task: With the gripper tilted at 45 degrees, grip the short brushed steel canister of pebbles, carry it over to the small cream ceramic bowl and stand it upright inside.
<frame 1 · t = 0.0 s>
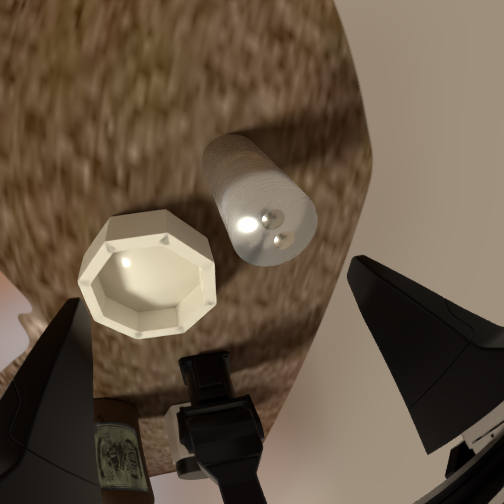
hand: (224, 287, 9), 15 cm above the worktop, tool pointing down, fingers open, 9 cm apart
bowl: (148, 267, 25), on the worktop
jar: (188, 410, 45), on the worktop
canister: (230, 161, 22), on the worktop
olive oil: (109, 409, 39), on the worktop
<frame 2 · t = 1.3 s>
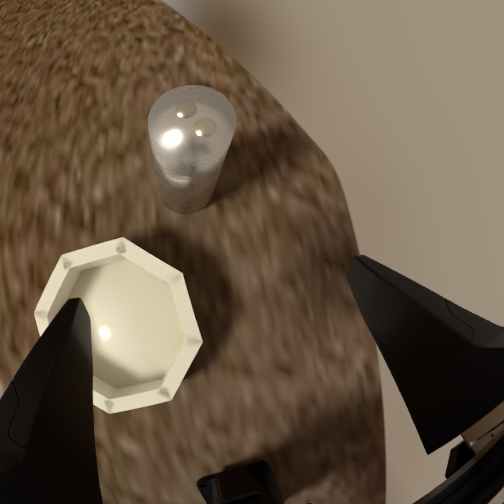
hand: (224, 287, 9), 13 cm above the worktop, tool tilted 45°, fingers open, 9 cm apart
bowl: (121, 324, 20), on the worktop
canister: (186, 187, 23), on the worktop
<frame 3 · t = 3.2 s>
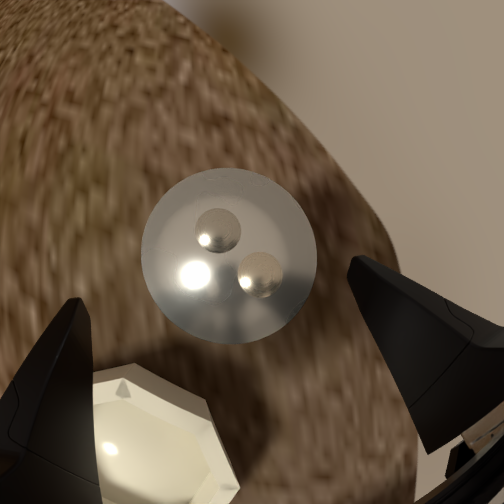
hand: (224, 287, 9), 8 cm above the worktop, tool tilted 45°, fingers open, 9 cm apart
bowl: (133, 450, 14), on the worktop
canister: (203, 280, 17), on the worktop
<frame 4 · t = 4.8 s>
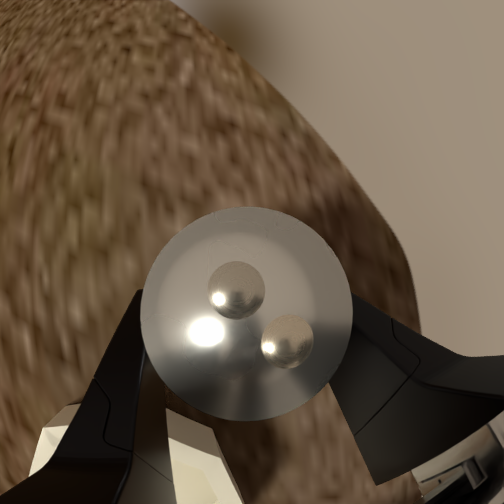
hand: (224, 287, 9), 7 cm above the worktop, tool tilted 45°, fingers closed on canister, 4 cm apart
bowl: (138, 478, 13), on the worktop
canister: (209, 305, 15), on the worktop, touching gripper
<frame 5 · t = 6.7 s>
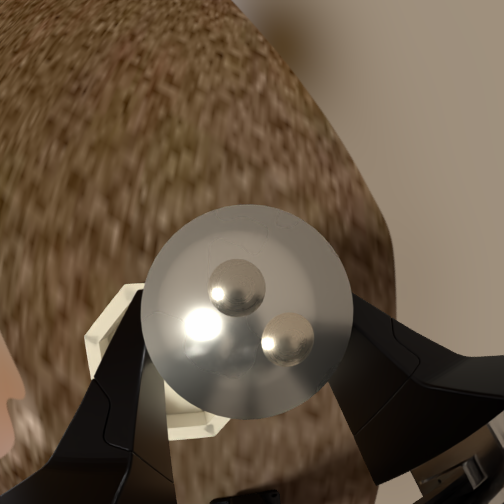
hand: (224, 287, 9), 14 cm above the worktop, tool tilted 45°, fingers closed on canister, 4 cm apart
bowl: (170, 355, 21), on the worktop
canister: (209, 304, 15), point 7 cm above the worktop, touching gripper
when the fingers open (9 cm above the worktop, at t = 9.0 s): canister drops 1 cm, resting on bowl.
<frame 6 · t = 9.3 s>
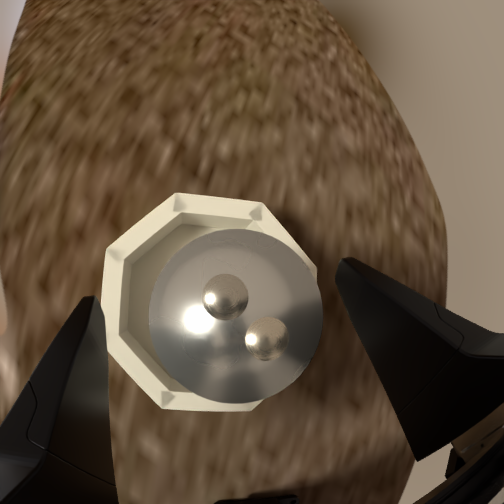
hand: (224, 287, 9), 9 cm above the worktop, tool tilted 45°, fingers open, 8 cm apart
bowl: (205, 304, 18), on the worktop
canister: (206, 306, 17), point 1 cm above the worktop, touching bowl
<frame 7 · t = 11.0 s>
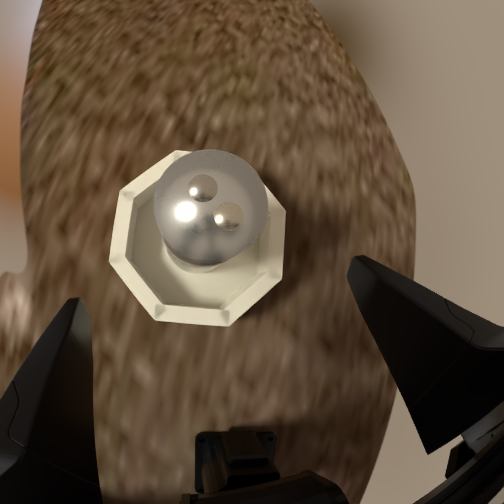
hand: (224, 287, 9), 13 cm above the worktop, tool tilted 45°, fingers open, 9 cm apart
bowl: (196, 242, 22), on the worktop
canister: (197, 242, 21), point 1 cm above the worktop, touching bowl
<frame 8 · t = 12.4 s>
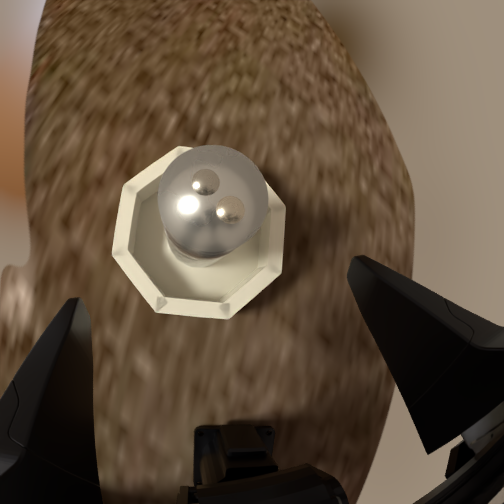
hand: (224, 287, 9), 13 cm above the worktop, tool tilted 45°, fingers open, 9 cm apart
bowl: (197, 237, 22), on the worktop
canister: (198, 236, 21), point 1 cm above the worktop, touching bowl
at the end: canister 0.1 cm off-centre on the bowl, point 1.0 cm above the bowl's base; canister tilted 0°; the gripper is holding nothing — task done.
